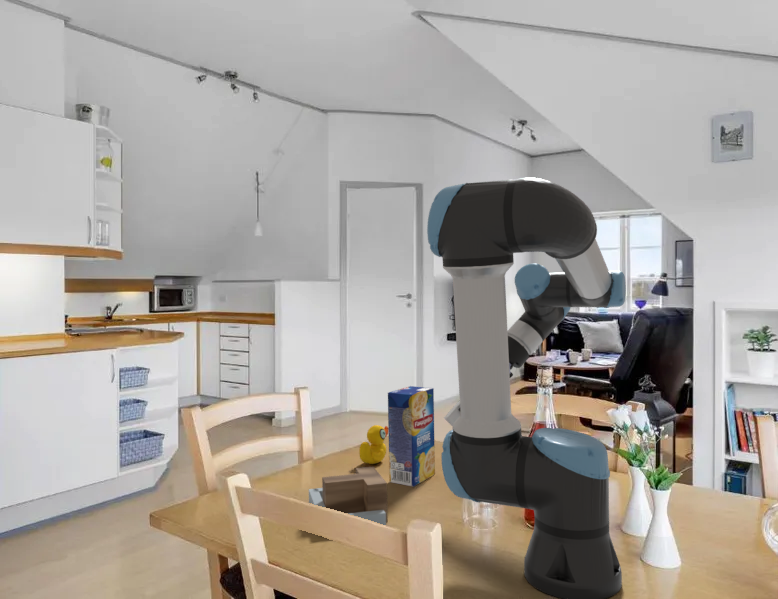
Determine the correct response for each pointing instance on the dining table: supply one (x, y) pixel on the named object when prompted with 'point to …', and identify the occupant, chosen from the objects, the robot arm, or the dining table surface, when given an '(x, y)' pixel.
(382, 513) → the fence
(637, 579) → the dining table surface
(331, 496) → the t block
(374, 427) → the duckling
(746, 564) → the dining table surface
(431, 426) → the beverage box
